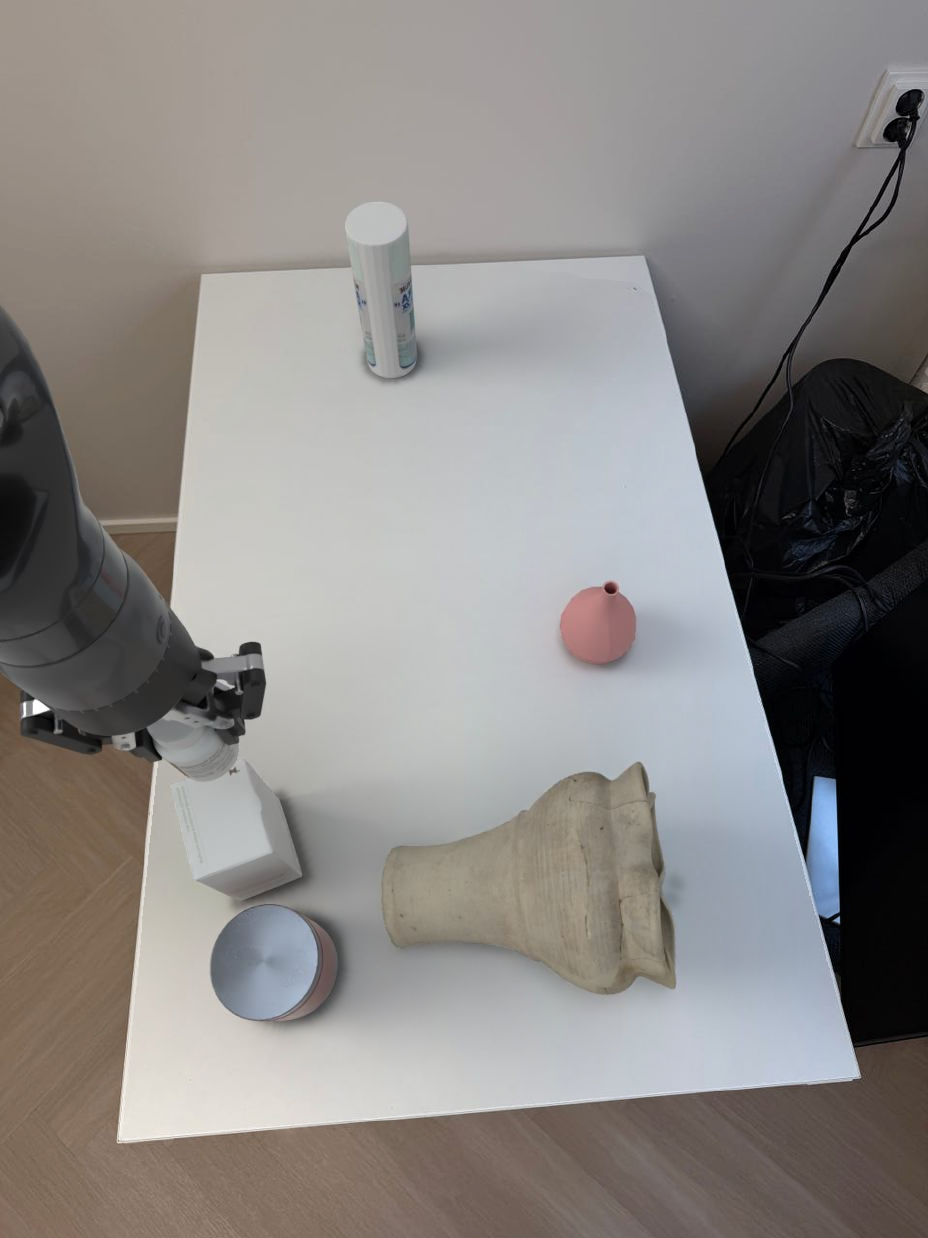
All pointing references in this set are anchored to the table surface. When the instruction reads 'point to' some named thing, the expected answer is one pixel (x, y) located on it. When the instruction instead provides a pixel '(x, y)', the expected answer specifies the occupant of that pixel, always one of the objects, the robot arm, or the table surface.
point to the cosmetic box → (235, 833)
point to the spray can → (383, 286)
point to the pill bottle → (193, 749)
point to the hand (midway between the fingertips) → (194, 738)
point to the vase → (549, 886)
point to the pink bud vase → (598, 624)
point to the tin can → (273, 964)
